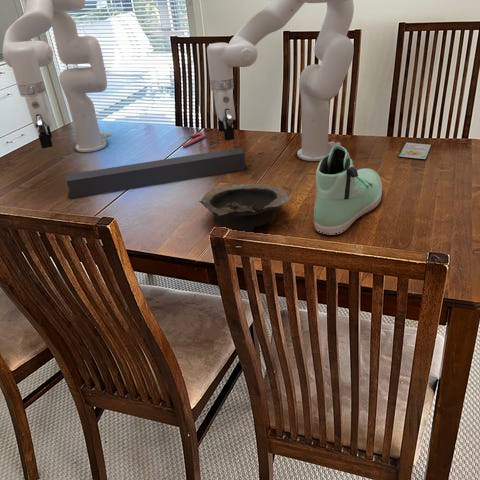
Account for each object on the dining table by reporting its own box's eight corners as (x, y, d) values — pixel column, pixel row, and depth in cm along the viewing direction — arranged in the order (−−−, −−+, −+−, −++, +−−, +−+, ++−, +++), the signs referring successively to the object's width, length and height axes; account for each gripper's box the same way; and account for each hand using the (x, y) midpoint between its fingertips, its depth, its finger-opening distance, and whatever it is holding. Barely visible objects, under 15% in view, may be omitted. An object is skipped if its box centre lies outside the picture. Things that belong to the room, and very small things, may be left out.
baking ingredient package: (399, 155, 168) (406, 141, 179) (398, 156, 168) (406, 143, 179) (425, 158, 164) (431, 144, 176) (425, 159, 164) (431, 145, 176)
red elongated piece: (173, 146, 194) (173, 142, 193) (197, 134, 204) (196, 131, 203) (185, 148, 191) (184, 144, 190) (208, 136, 201) (207, 132, 200)
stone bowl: (227, 251, 123) (222, 218, 119) (191, 218, 143) (186, 190, 139) (307, 222, 132) (305, 191, 128) (262, 196, 152) (259, 168, 148)
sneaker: (389, 187, 148) (396, 123, 138) (356, 242, 123) (361, 168, 112) (346, 181, 154) (350, 119, 144) (306, 232, 129) (307, 161, 118)
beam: (71, 198, 158) (66, 181, 155) (72, 191, 163) (67, 174, 160) (245, 169, 169) (244, 152, 165) (241, 163, 173) (240, 147, 170)
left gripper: (45, 92, 140) (60, 148, 148) (44, 82, 154) (58, 133, 163) (17, 96, 138) (34, 153, 146) (20, 85, 152) (35, 137, 161)
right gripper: (239, 88, 148) (243, 141, 157) (227, 77, 163) (231, 126, 172) (215, 92, 147) (220, 145, 156) (205, 80, 161) (210, 129, 170)
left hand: (47, 142), depth 155 cm, fingers open, 9 cm apart
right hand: (226, 135), depth 164 cm, fingers open, 9 cm apart
